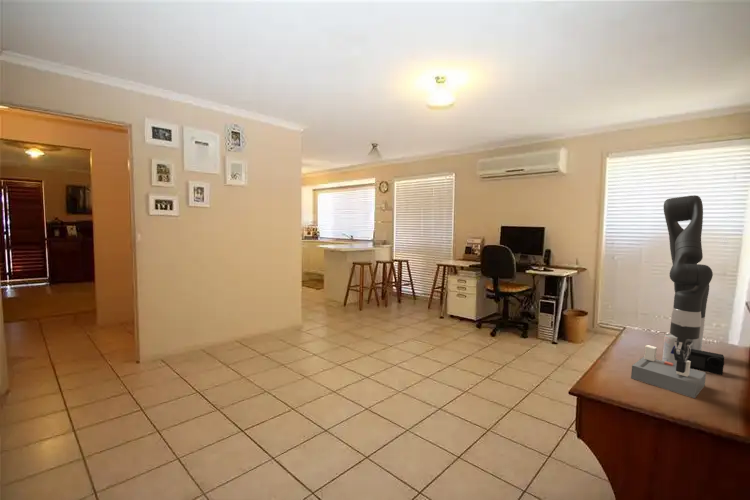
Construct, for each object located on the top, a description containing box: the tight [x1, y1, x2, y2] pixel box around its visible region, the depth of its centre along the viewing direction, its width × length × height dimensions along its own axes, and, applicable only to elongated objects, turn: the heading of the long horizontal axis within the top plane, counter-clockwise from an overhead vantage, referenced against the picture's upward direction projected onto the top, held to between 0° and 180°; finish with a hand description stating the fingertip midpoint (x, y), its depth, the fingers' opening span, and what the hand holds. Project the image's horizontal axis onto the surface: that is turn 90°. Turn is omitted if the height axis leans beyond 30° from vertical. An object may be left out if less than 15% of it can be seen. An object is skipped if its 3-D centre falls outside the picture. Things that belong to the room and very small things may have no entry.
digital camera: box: [688, 349, 725, 376], centre depth 139 cm, size 10×5×7 cm, turn 51°
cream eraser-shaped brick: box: [676, 361, 691, 377], centre depth 123 cm, size 2×3×5 cm
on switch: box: [643, 344, 658, 361], centre depth 136 cm, size 2×3×5 cm
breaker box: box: [630, 356, 707, 399], centre depth 129 cm, size 14×18×6 cm
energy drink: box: [661, 333, 678, 365], centre depth 143 cm, size 5×5×12 cm
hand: (680, 371), depth 121 cm, fingers closed
